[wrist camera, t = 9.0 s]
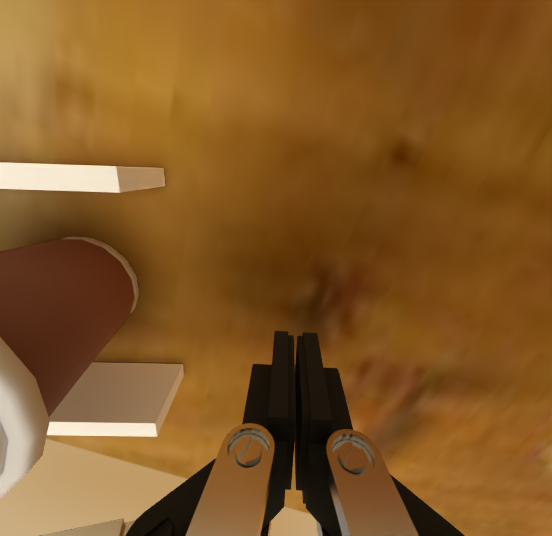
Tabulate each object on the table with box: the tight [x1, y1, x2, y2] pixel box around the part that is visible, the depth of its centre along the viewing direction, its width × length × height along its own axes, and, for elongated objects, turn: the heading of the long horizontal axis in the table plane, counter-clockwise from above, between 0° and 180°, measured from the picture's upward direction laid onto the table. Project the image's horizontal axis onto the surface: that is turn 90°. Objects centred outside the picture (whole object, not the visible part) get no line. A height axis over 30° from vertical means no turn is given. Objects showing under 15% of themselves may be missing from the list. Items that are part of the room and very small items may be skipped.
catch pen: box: [0, 162, 184, 437], centre depth 15 cm, size 13×14×5 cm
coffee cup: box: [0, 237, 139, 498], centre depth 12 cm, size 9×9×12 cm
